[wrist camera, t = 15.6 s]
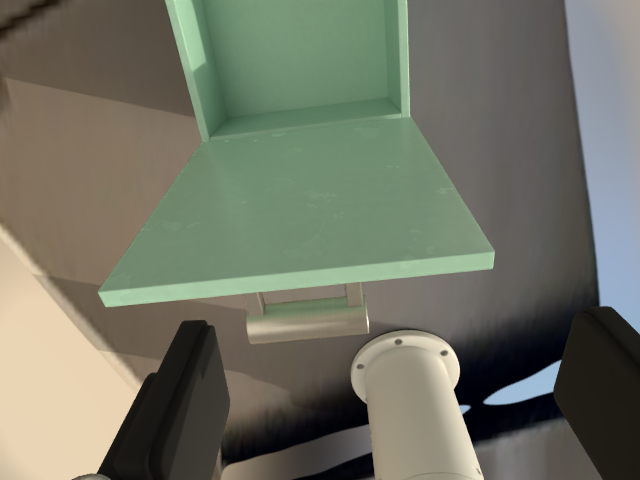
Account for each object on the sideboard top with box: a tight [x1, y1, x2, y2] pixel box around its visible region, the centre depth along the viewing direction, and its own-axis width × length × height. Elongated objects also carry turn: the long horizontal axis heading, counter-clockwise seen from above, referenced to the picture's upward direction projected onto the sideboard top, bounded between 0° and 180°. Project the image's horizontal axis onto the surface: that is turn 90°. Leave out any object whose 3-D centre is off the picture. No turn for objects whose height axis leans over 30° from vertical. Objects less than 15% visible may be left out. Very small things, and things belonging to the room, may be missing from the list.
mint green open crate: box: [165, 0, 410, 143], centre depth 29 cm, size 15×15×7 cm
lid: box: [98, 117, 495, 344], centre depth 23 cm, size 16×15×5 cm
